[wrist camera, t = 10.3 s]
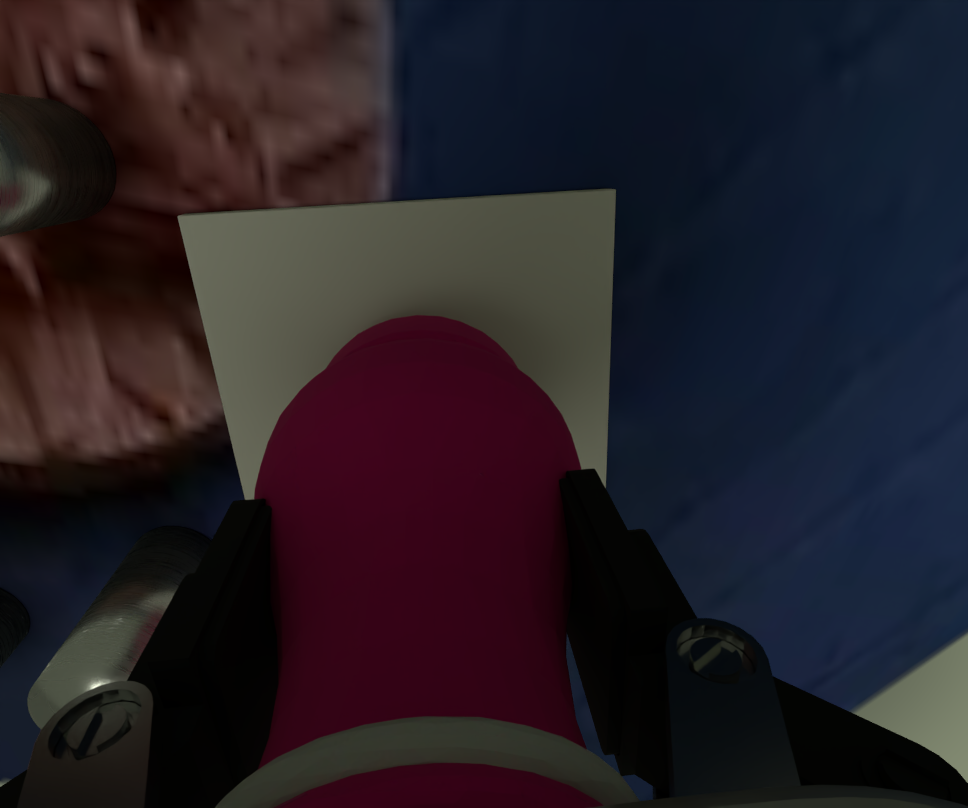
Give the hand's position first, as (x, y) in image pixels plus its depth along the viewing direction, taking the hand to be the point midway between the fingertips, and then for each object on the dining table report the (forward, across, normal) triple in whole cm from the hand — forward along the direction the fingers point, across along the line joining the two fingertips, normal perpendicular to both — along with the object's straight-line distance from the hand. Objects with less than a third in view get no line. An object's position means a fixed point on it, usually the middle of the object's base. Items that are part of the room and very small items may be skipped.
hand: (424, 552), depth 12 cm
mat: (+8, 0, 0) cm, 8 cm away
